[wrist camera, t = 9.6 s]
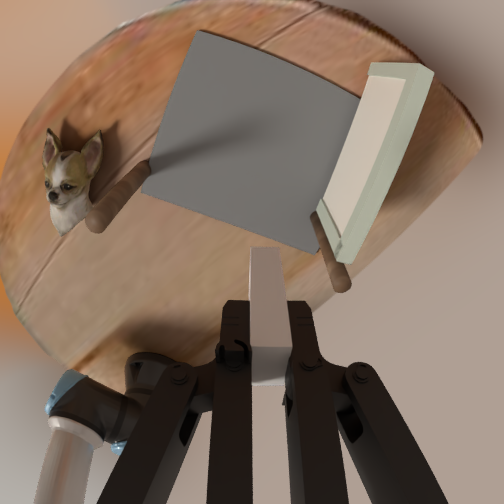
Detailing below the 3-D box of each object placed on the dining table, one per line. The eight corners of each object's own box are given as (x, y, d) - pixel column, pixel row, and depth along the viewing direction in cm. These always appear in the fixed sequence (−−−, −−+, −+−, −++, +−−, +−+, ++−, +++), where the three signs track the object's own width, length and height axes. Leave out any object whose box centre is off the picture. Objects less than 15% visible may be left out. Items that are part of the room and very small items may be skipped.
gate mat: (314, 253, 48) (314, 255, 47) (141, 191, 42) (140, 192, 41) (391, 119, 35) (393, 119, 35) (197, 30, 29) (197, 30, 29)
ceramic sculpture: (28, 236, 35) (21, 136, 28) (55, 212, 43) (54, 124, 36) (86, 248, 37) (84, 138, 29) (108, 221, 44) (113, 127, 37)
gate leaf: (327, 213, 42) (351, 264, 32) (315, 209, 42) (336, 261, 31) (383, 68, 30) (434, 72, 20) (371, 62, 30) (419, 63, 20)
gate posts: (318, 224, 45) (345, 296, 31) (135, 174, 40) (84, 230, 27) (325, 210, 43) (355, 279, 30) (138, 159, 39) (85, 209, 26)
